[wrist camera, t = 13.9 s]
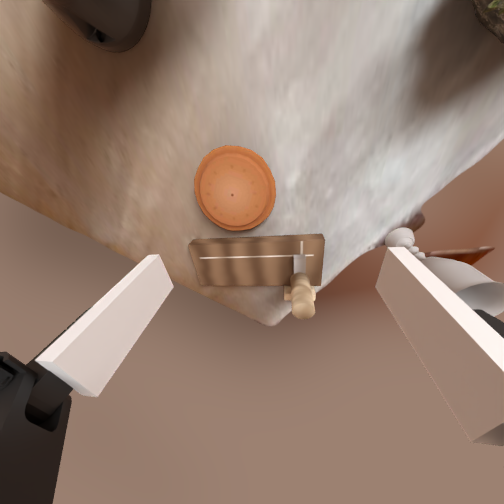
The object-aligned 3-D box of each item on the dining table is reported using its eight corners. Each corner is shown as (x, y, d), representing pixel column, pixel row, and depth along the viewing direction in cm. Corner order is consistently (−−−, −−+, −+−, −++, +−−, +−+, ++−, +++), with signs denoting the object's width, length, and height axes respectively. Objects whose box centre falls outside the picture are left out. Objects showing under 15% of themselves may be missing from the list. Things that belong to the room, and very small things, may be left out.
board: (205, 278, 51) (201, 285, 49) (193, 239, 45) (187, 245, 43) (318, 277, 46) (320, 286, 43) (322, 233, 40) (325, 240, 37)
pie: (186, 175, 38) (173, 179, 34) (248, 125, 32) (243, 123, 28) (229, 235, 44) (224, 245, 39) (289, 202, 38) (290, 210, 33)
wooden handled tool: (284, 286, 48) (284, 331, 37) (282, 248, 43) (282, 288, 31) (312, 286, 47) (321, 333, 35) (314, 247, 41) (326, 288, 30)
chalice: (393, 259, 41) (461, 330, 25) (371, 242, 39) (428, 307, 24) (427, 235, 37) (529, 301, 22) (404, 215, 36) (494, 271, 21)
